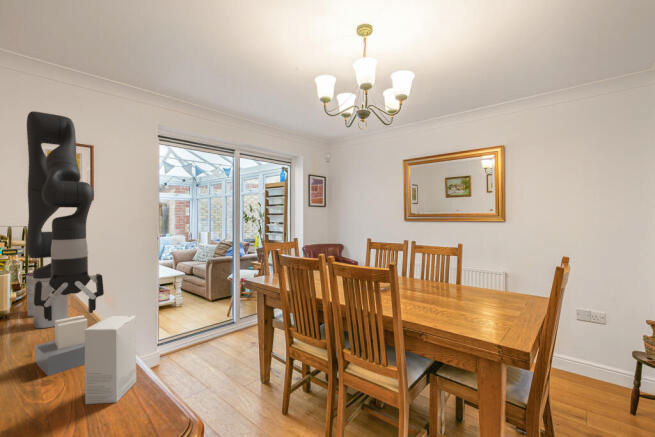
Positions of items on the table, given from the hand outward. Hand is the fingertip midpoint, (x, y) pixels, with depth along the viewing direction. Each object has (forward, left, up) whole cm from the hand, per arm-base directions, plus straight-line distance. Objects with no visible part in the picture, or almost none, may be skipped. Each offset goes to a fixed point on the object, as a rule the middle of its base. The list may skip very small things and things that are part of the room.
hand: (70, 316), depth 83 cm
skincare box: (+27, +4, -12) cm, 30 cm away
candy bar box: (-62, -1, -12) cm, 63 cm away
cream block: (0, 0, -7) cm, 7 cm away
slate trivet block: (0, 0, -12) cm, 12 cm away
